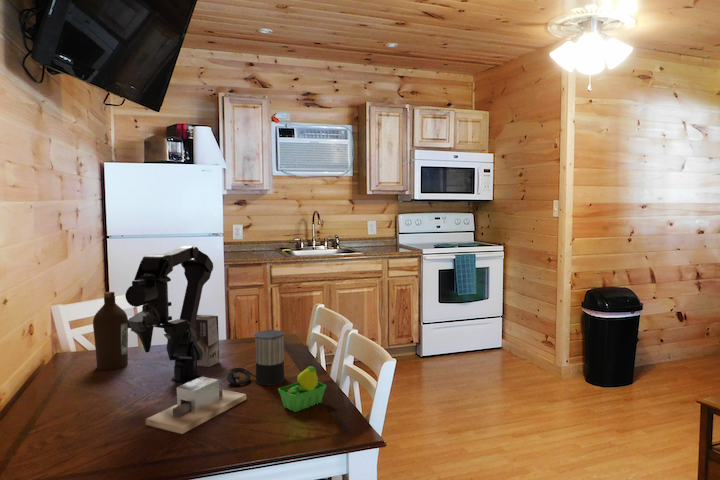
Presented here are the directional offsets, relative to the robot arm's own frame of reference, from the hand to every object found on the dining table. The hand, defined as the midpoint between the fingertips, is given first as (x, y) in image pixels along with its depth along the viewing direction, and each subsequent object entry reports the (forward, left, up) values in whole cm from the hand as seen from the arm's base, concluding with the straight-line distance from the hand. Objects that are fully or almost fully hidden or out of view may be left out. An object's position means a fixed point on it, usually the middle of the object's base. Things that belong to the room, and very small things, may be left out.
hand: (159, 354), depth 148 cm
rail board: (+4, +18, -12) cm, 22 cm away
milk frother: (-21, +18, -12) cm, 30 cm away
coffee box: (-28, -10, -12) cm, 32 cm away
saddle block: (+4, +18, -10) cm, 21 cm away
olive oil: (-13, -36, -12) cm, 40 cm away
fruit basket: (-11, +41, -12) cm, 44 cm away
